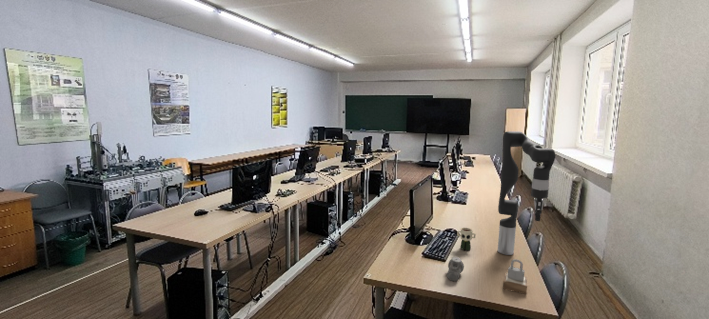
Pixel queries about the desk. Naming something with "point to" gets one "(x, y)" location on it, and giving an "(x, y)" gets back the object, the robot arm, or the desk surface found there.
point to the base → (515, 284)
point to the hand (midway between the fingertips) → (537, 218)
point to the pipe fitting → (455, 268)
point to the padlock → (516, 271)
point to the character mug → (466, 238)
